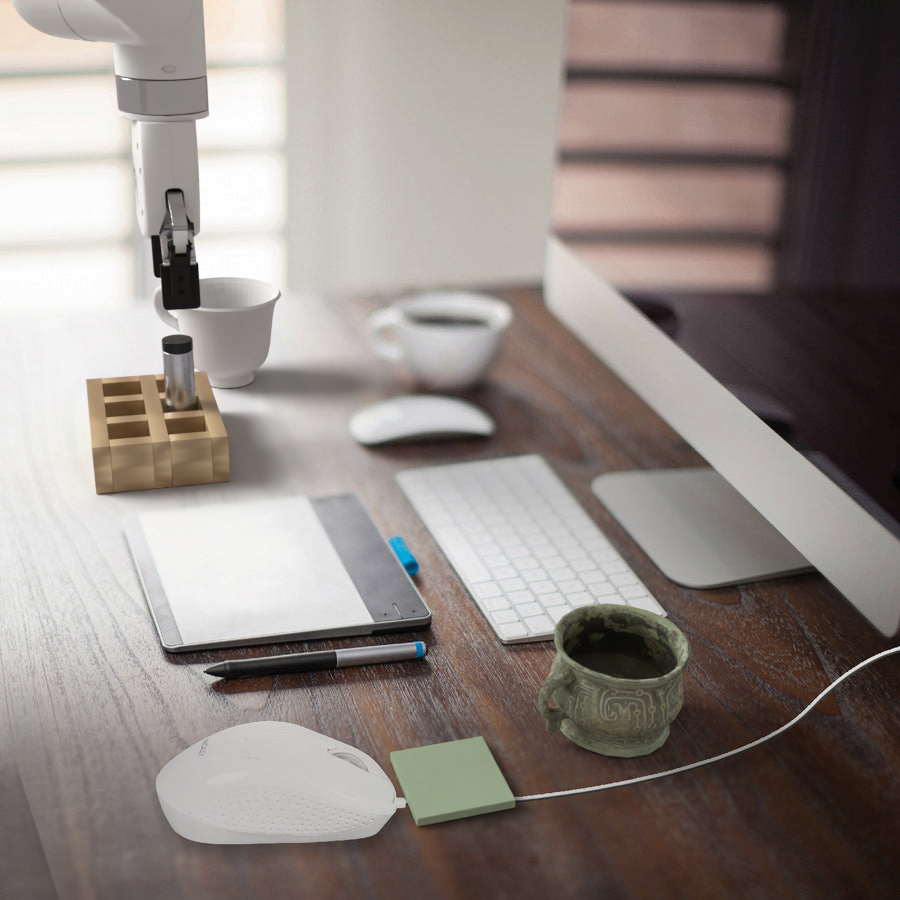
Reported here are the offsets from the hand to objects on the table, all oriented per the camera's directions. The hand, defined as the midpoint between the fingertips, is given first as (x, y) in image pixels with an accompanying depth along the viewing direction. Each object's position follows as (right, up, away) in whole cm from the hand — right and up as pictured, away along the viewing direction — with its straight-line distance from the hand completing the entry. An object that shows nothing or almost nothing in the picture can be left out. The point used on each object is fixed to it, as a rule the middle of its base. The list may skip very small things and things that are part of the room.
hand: (176, 291), depth 104 cm
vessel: (+35, -32, -29) cm, 56 cm away
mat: (+25, -34, -36) cm, 55 cm away
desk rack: (-3, -14, +5) cm, 16 cm away
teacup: (-1, -6, +23) cm, 24 cm away
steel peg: (-1, -14, +6) cm, 16 cm away
